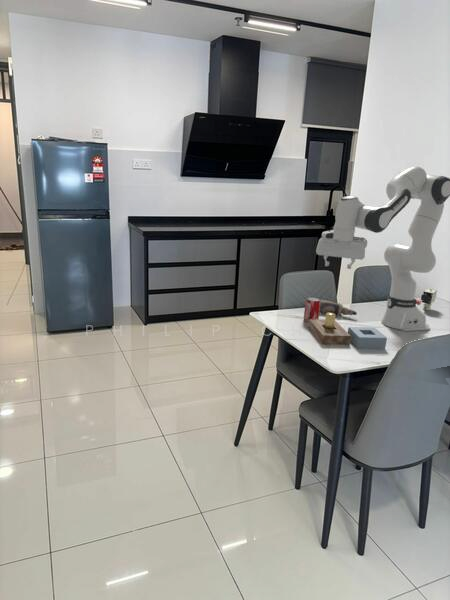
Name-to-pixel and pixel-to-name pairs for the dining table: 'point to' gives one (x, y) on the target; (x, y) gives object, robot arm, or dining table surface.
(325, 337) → the wooden socket block
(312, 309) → the soda can
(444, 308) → the dining table surface
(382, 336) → the dock block
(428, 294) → the pneumatic valve
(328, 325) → the brass pin
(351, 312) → the decorative bottle
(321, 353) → the dining table surface
